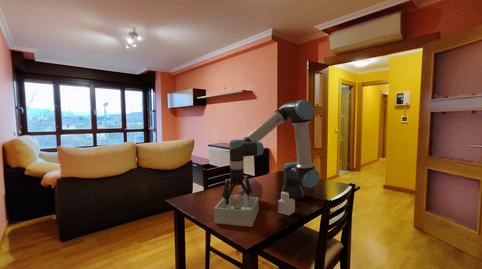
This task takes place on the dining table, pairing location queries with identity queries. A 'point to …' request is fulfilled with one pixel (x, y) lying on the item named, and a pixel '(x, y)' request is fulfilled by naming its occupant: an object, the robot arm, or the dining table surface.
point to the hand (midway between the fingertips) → (237, 207)
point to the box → (236, 212)
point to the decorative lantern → (255, 188)
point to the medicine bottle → (286, 203)
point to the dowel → (237, 201)
